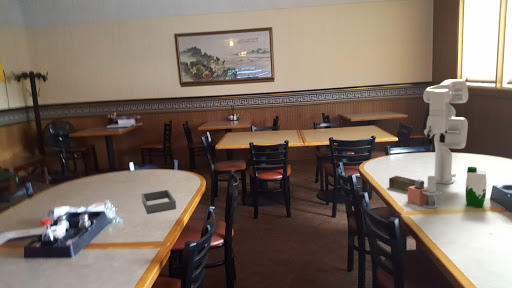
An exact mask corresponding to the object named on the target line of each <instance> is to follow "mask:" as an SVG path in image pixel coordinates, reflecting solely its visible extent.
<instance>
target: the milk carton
mask: <svg viewBox="0 0 512 288" xmlns="http://www.w3.org/2000/svg"><path fill="white" fill-rule="evenodd" d="M486 196H487V173H486V170H480V169H478V168H477V167H476V166H467V171H466V181H465V202H466V203H465V204H466V207H471V208H479V209H483V207H484V204H485V200H486Z"/></svg>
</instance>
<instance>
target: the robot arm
mask: <svg viewBox="0 0 512 288" xmlns="http://www.w3.org/2000/svg"><path fill="white" fill-rule="evenodd" d="M467 84H468V83H467V82H466V81H465V80H464V79H445V80H444V81H442V82H441V83H440V84H436V85H433V86H429V87H426V89H425V90H424V92H423V95H422V98H423V100H424V102H425V103H429V115H428V116H427V119H426V128H425V129H424V130H423V133H424V136H425V138H426V145H428V146H432V145H433V143H434V148H435V150H434V151H435V154H434V155H435V156H434V175H433V176H436V184H441V185H450V184H453V183H454V182H455V180H454V179H453V178H456V176H457V175H456V174H455V173H453V174H452V168H453V167H452V164H453V154H452V152H451V150H450V149H458V150H459V149H460V150H461V149H464V148H465V147H466V144H467V136H468V126H469V124H468V120H467V118H465V117H456V109H455V108H454V107H453V105H451V104H465V103H467V101H468V99H469V90H468V85H467ZM433 136H434V138H433ZM433 140H434V142H433Z"/></svg>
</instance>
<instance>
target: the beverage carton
mask: <svg viewBox="0 0 512 288" xmlns="http://www.w3.org/2000/svg"><path fill="white" fill-rule="evenodd" d="M415 180H416V179H413V178H409V177H405V176H401V175H394V176H391V177H389V178H388V187H389V188H393V189H397V190H400V191H404V192H408V187H411V186H415Z"/></svg>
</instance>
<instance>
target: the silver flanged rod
mask: <svg viewBox="0 0 512 288" xmlns="http://www.w3.org/2000/svg"><path fill="white" fill-rule="evenodd" d="M426 187H427V189H424V190H427V191H424V190H422V193H423V194H425V195H427V203H425V204H423V206H424V207H425V208H427V209H428V208H429V209H437V208H438V207H439V205H438V204H436V199H437V198H436V197H438V196H441V195H442V192H441V190H438V189H437V183H436V176H434V175H428V176H427V186H426Z"/></svg>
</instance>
